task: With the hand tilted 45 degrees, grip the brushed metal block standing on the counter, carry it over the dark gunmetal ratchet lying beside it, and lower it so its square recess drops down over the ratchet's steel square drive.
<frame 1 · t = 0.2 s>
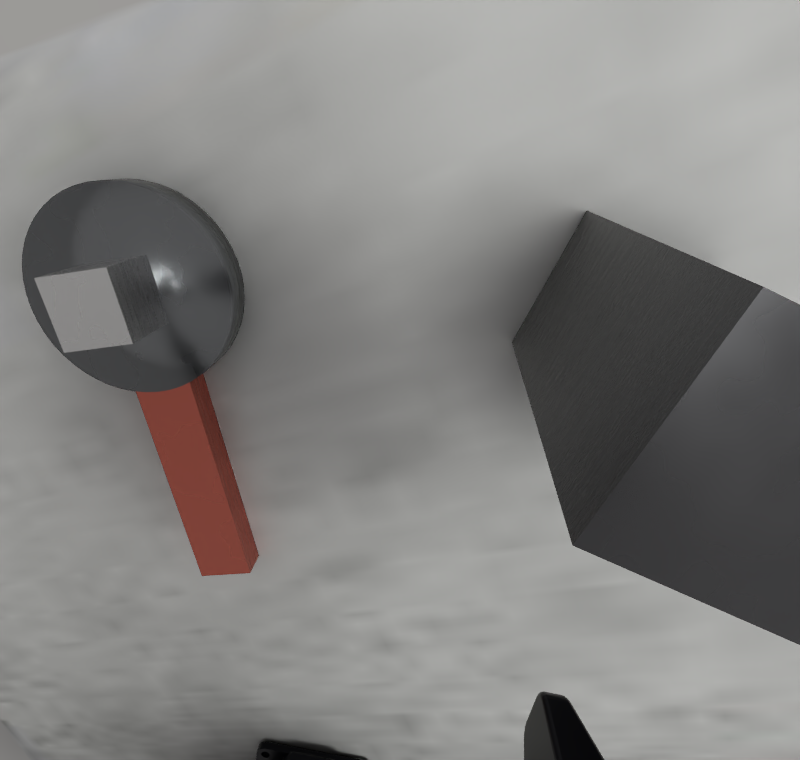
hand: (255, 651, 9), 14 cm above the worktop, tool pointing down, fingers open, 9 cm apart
brushed metal block: (611, 310, 20), on the worktop
ratchet: (146, 285, 22), on the worktop
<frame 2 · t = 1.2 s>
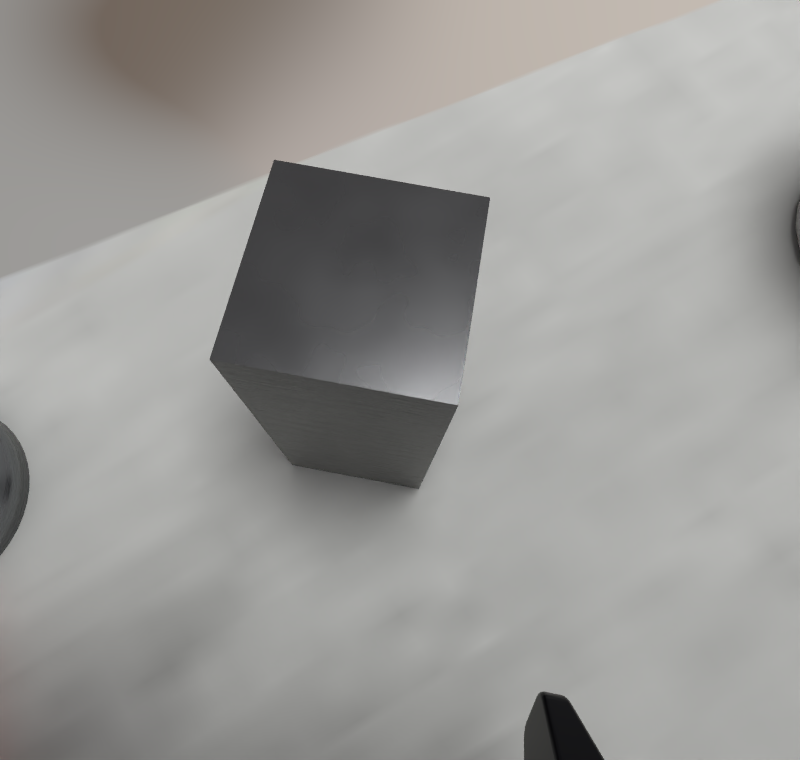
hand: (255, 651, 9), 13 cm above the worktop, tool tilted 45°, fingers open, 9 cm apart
brushed metal block: (368, 415, 24), on the worktop
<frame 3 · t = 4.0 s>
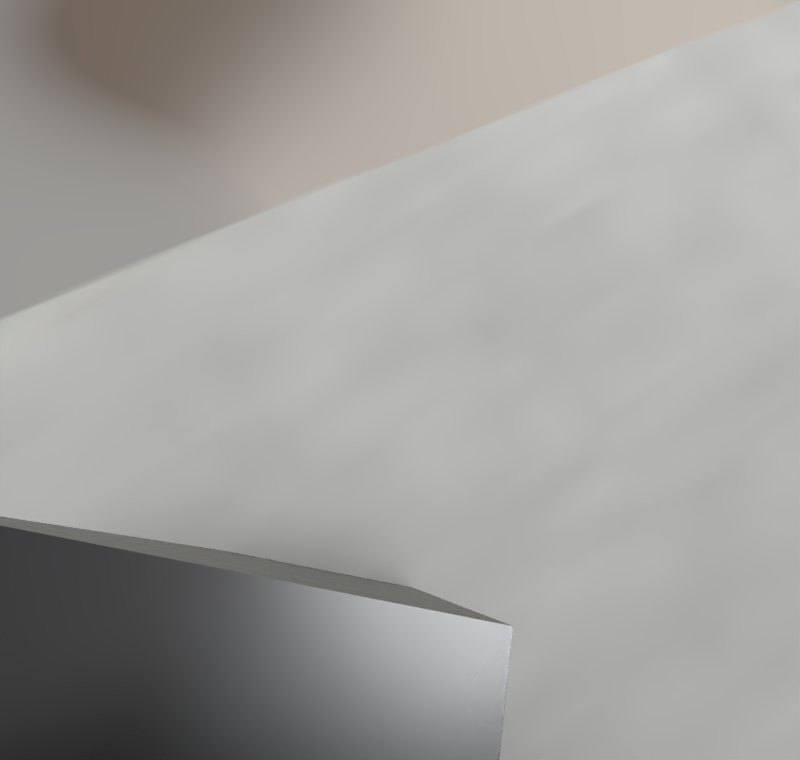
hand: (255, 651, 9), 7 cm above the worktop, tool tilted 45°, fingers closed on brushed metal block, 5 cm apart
brushed metal block: (294, 676, 14), on the worktop, touching gripper
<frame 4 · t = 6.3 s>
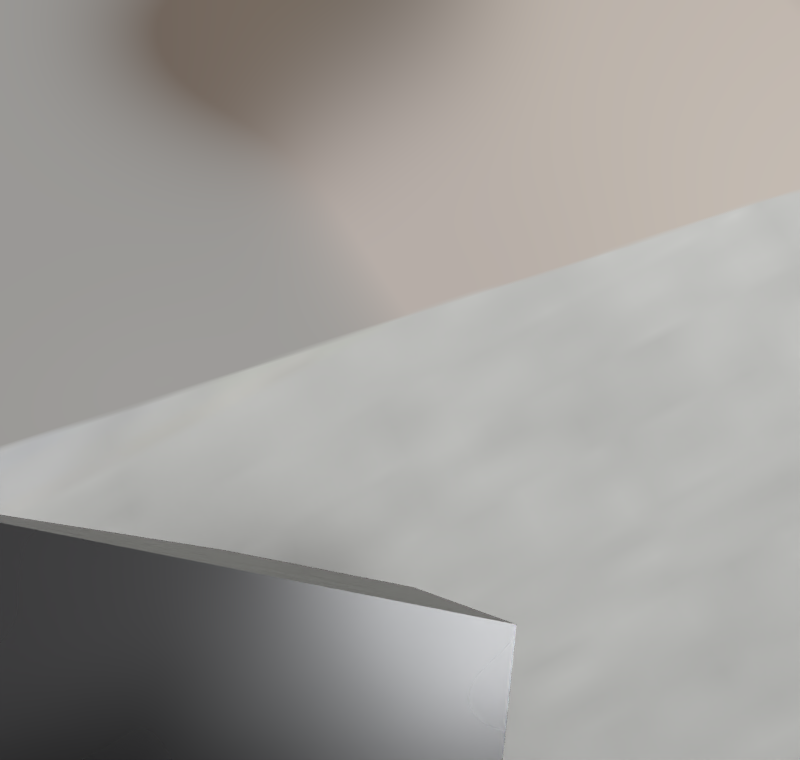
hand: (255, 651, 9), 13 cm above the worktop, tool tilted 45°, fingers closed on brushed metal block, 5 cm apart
brushed metal block: (295, 675, 14), point 7 cm above the worktop, touching gripper
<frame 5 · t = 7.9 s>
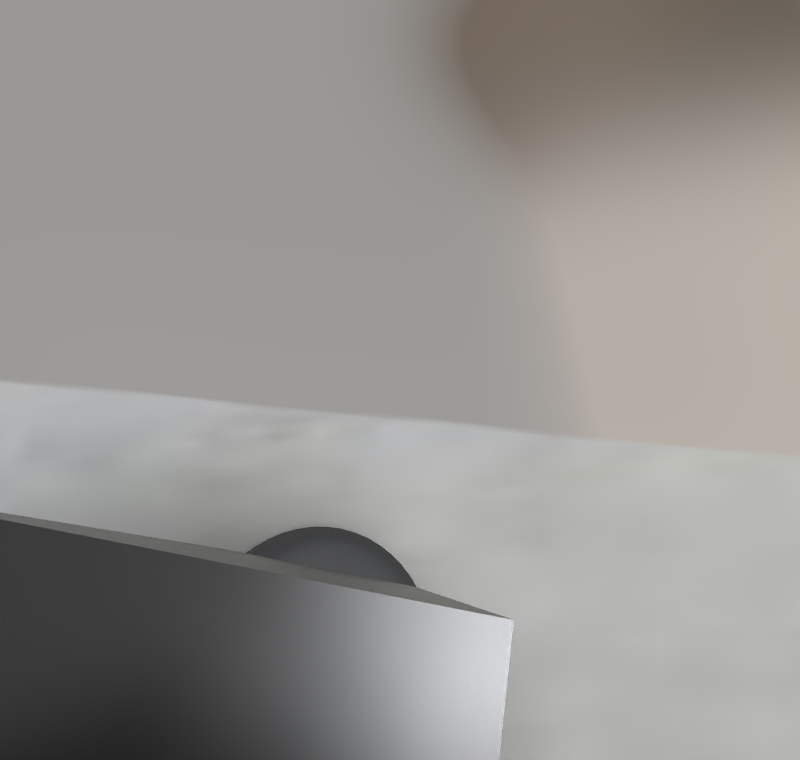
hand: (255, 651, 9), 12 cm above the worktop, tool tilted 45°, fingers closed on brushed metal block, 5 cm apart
brushed metal block: (294, 674, 14), point 6 cm above the worktop, touching gripper
ratchet: (318, 643, 20), on the worktop
when the fingers open (8 cm above the worktop, at t = 9.1 s): brushed metal block stays where it is, resting on ratchet.
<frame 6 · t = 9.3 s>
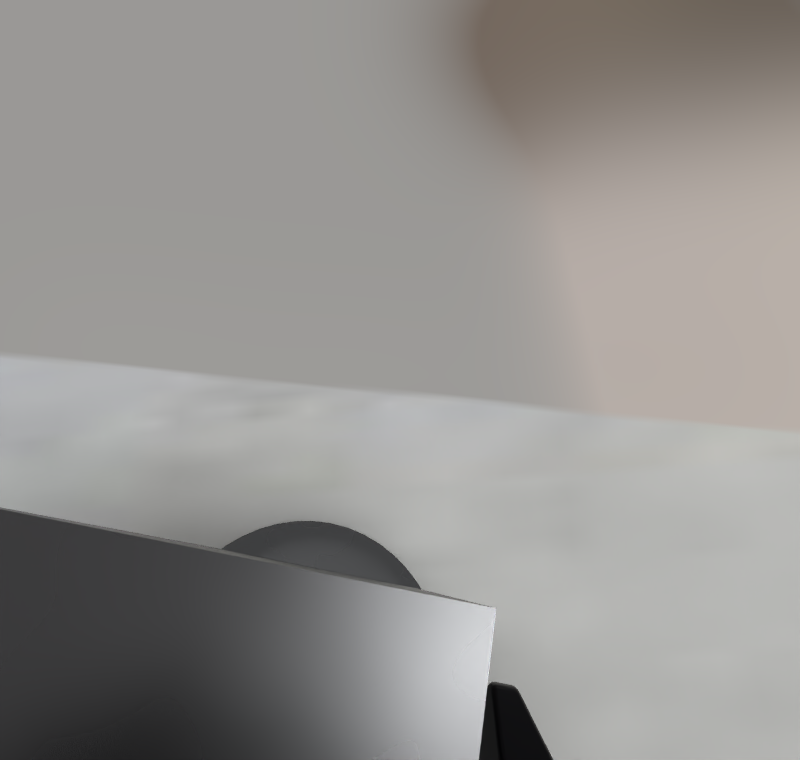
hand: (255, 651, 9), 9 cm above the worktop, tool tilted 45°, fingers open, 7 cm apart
brushed metal block: (296, 672, 15), point 1 cm above the worktop, touching ratchet
ratchet: (304, 663, 16), on the worktop, touching brushed metal block
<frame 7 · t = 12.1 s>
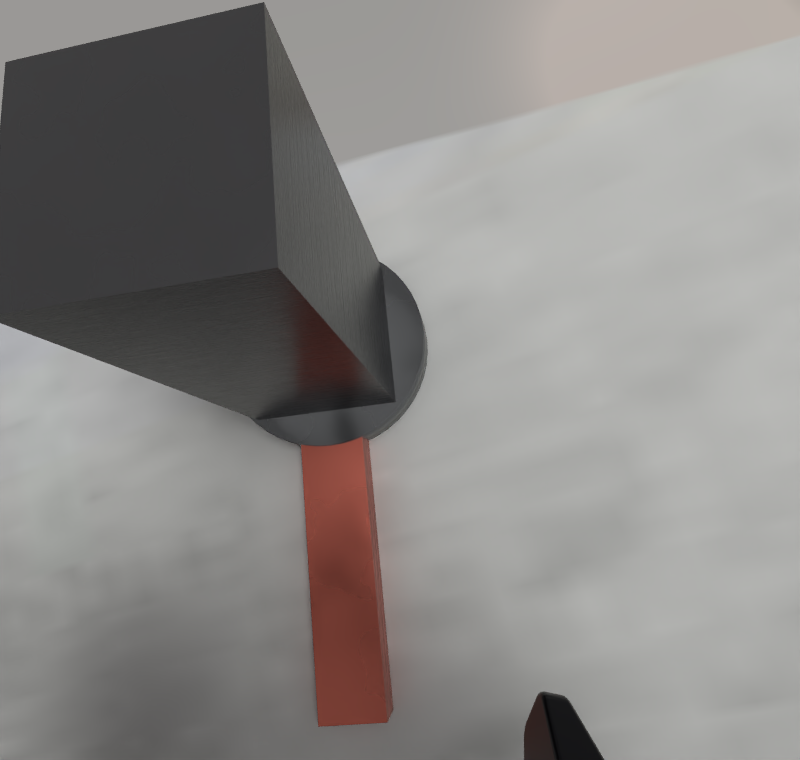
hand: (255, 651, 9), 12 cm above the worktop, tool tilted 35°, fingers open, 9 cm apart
brushed metal block: (321, 343, 21), point 1 cm above the worktop, touching ratchet
ratchet: (332, 353, 23), on the worktop, touching brushed metal block
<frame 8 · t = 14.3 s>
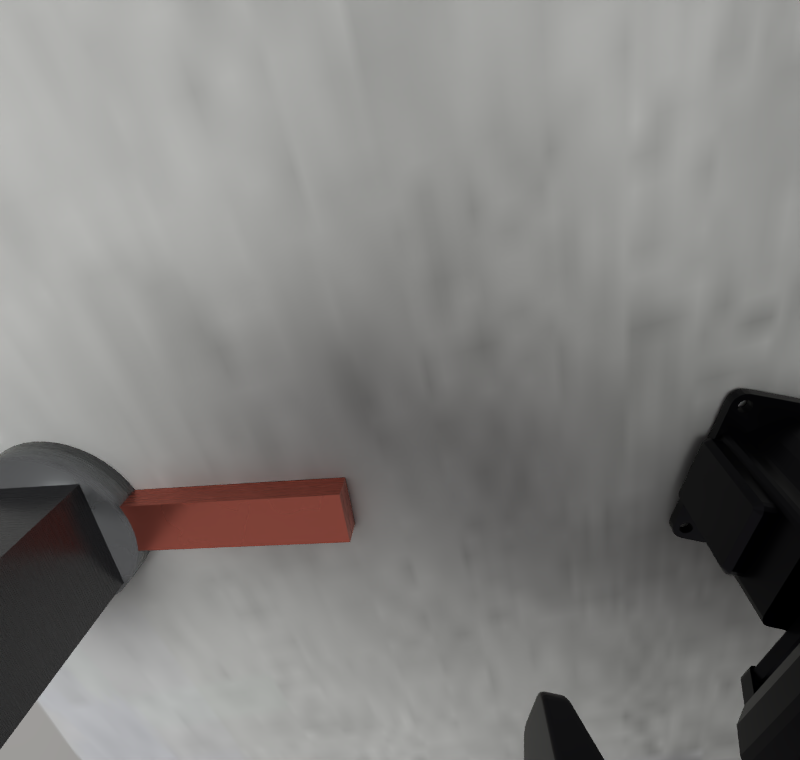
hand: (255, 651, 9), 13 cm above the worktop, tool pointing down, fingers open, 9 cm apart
brushed metal block: (47, 538, 24), point 1 cm above the worktop, touching ratchet
ratchet: (68, 515, 25), on the worktop, touching brushed metal block
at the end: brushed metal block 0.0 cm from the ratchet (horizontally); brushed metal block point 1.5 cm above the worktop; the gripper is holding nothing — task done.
